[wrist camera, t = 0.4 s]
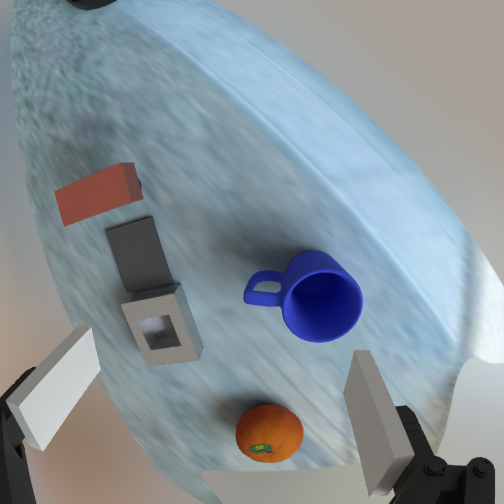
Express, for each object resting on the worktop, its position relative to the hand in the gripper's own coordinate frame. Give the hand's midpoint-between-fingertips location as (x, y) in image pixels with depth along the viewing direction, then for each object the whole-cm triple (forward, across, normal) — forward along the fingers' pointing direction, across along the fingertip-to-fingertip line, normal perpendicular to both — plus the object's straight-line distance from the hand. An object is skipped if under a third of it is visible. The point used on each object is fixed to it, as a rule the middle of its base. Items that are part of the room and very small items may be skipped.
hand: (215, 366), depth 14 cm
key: (+26, -16, +6) cm, 31 cm away
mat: (+26, -14, -3) cm, 30 cm away
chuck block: (+26, -11, -13) cm, 31 cm away
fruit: (+26, +5, -30) cm, 40 cm away
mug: (+26, +6, -4) cm, 27 cm away
